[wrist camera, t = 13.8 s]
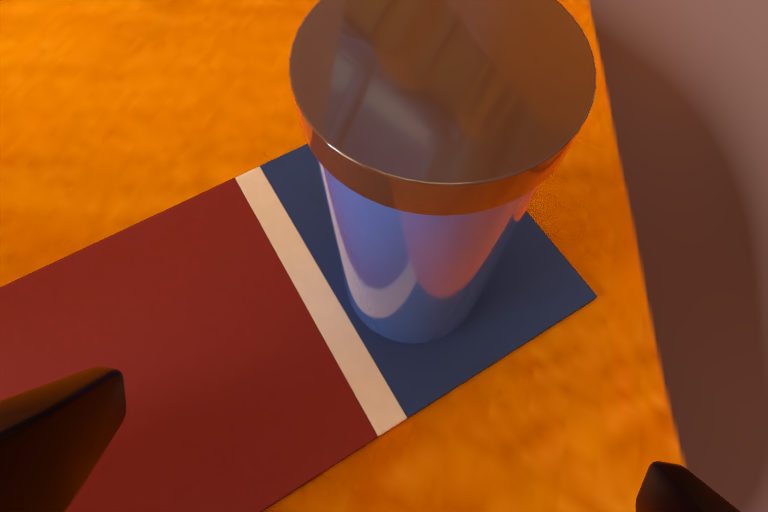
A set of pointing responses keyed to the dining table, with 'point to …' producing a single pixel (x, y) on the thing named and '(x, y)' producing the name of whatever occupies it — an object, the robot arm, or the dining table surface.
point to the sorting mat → (250, 343)
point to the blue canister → (434, 141)
